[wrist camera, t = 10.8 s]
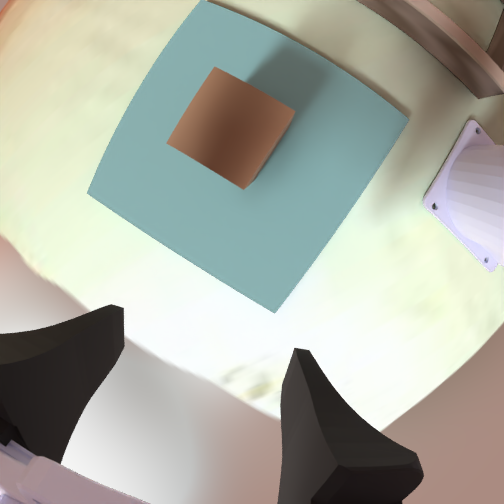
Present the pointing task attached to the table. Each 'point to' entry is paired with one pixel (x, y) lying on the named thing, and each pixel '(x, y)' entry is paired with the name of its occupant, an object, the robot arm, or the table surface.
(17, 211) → the table surface
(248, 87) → the walnut block
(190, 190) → the mat
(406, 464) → the robot arm
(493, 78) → the frame
